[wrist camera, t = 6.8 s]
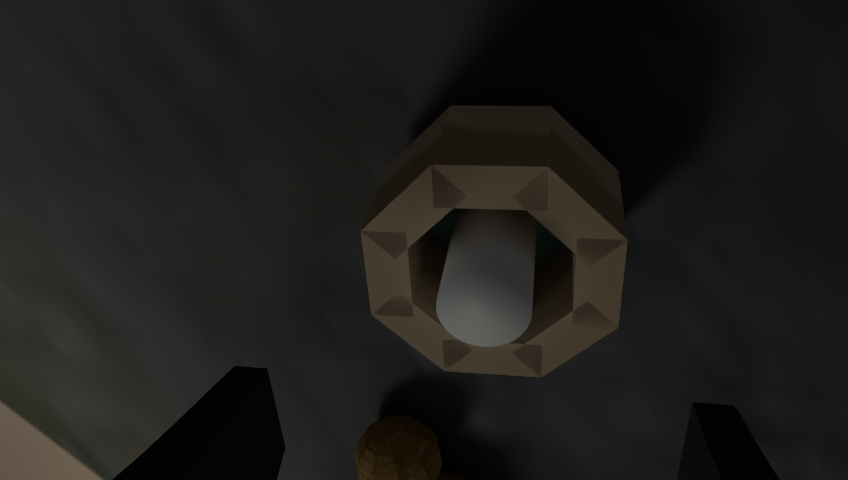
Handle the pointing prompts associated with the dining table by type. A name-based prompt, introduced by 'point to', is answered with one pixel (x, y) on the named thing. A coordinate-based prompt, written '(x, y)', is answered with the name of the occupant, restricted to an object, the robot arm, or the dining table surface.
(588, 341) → the ring
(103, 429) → the dining table surface
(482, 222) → the toy mushroom
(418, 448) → the wooden baluster
